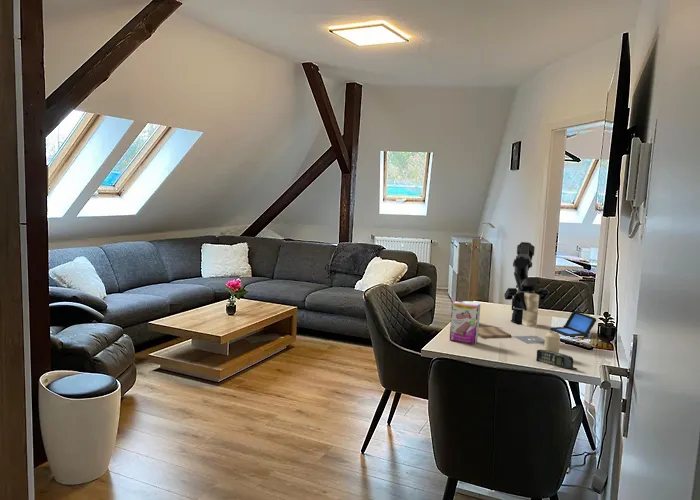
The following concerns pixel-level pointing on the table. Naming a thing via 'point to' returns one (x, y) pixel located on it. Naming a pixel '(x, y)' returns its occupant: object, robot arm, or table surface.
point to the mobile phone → (555, 359)
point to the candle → (552, 342)
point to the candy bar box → (464, 322)
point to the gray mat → (530, 339)
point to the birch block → (530, 309)
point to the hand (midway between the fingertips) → (531, 310)
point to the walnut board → (492, 332)
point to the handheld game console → (576, 325)
